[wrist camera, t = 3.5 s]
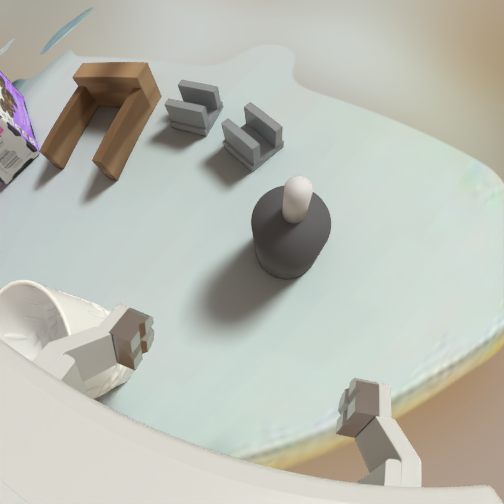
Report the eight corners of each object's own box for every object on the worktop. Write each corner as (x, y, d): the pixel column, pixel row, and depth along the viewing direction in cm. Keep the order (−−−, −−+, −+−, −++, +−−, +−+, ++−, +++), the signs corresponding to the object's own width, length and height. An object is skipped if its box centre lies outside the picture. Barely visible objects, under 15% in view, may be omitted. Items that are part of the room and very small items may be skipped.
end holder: (57, 167, 28) (30, 143, 23) (100, 91, 30) (82, 63, 25) (117, 180, 27) (92, 153, 22) (161, 95, 29) (147, 62, 24)
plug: (248, 269, 24) (235, 230, 15) (265, 213, 25) (262, 149, 16) (307, 286, 24) (331, 257, 15) (322, 229, 25) (349, 172, 16)
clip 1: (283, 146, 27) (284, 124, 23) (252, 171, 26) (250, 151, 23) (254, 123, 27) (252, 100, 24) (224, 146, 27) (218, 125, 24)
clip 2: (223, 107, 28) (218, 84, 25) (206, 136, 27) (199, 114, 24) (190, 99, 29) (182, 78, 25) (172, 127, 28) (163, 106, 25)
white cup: (116, 414, 22) (42, 446, 12) (52, 354, 23) (-31, 354, 14) (163, 339, 23) (98, 339, 14) (92, 282, 25) (14, 253, 15)
